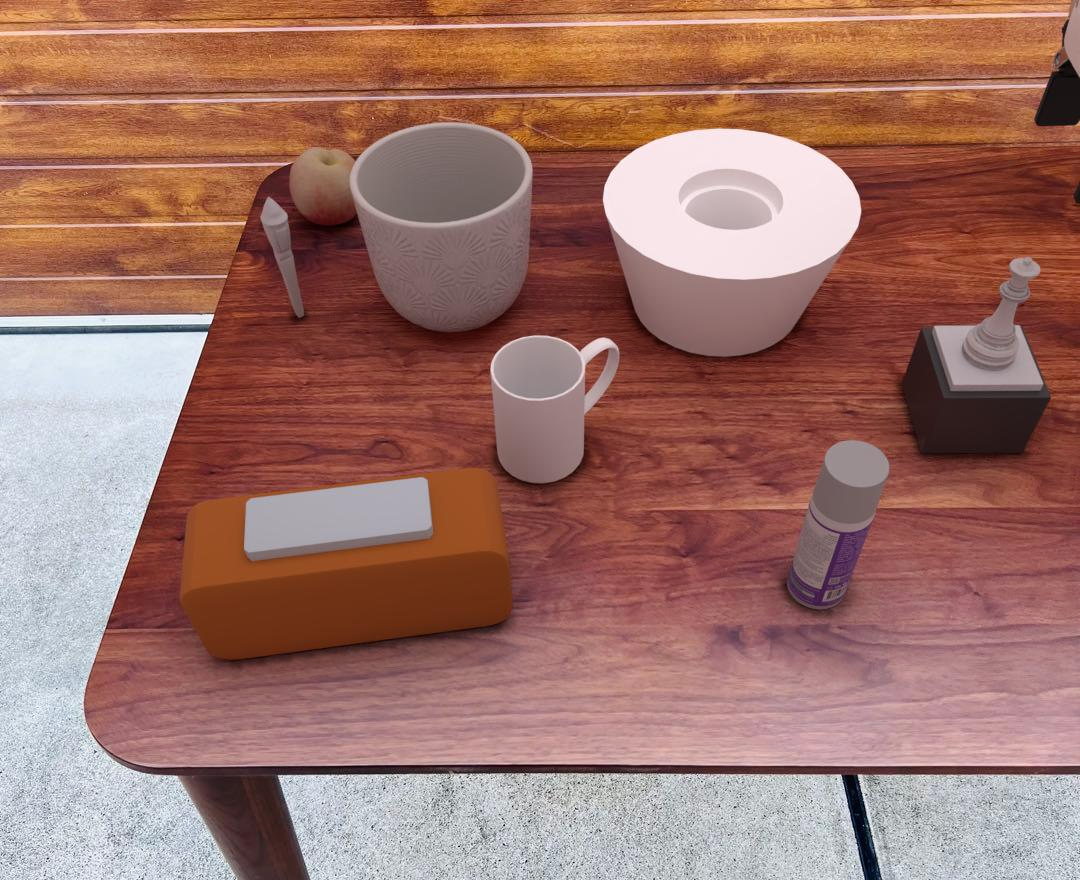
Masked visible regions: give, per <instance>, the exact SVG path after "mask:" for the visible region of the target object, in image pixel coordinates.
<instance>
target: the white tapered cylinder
mask: <svg viewBox="0 0 1080 880" xmlns="http://www.w3.org/2000/svg"><path fill="white" fill-rule="evenodd" d="M849 177H850V176H848V175H847V174H846V173H845V171H844V170H843V169H842V168H841V167H840V166H838V165H837V164H836V163H835V162H833V161H832V160H831V159H830V158H829V157H828V156H825V155H824V154H822V153H821V152H819V151H816V150H815V149H814V148H811V147H810V146H807V145H805V144H802V143H800V142H797V141H796V140H792V139H790V138H787V137H783V136H780V135H775V134H772V133H768V132H763V131H755V130H749V129H739V128H738V129H737V128H707V129H694V130H690V131H684V132H679V133H673V134H670V135H667V136H664V137H660V138H657V139H654V140H652V141H650V142H647V143H646V144H644V145H642V146H639V147H638V148H636V149H634V150H633V151H631V152H630V153H629V154H627V155H626V156H625V157H623V158H622V159H621V160H620V161H619V162H618V163H617V165H615V167H614V168H613V169H612V170H611V171H610V173H609V176H608V178H607V180H606V182H605V184H604V189H603V194H602V195H603V196H602V203H603V207H604V211H605V216H606V219H607V223H608V227H609V231H610V232H611V233H610V234H611V236H612V239H613V243H614V246H615V249H616V252H617V256H618V259H619V263H620V266H621V270H622V272H623V276H624V279H625V282H626V285H627V289H628V292H629V296H630V299H631V302H632V305H633V309H634V311H635V314H636V315H637V318H638V319H639V321H640V323H641V324H642V325H643V326H644V328H646V330H647V331H648V332H650V333H651V334H652V335H653V336H655V337H656V338H657V339H658V340H660V341H662V342H663V343H666V344H668V345H669V346H671V347H673V348H676V349H679V350H681V351H685V352H688V353H691V354H696V355H702V356H708V357H721V358H722V357H738V356H744V355H748V354H753V353H757V352H760V351H763V350H765V349H768V348H770V347H772V346H773V345H775V344H777V343H779V342H780V341H782V340H784V339H785V338H786V336H787V335H788V334H790V333H791V331H792V330H793V329H794V328H795V326H796V324H797V323H798V322H799V320H800V318H801V316H802V315H803V313H804V312H805V310H806V309H807V307H808V306H809V305H810V302H811V301H812V300H813V298H814V296H815V295H816V293H817V292H818V290H819V289H820V287H821V286H822V284H823V283H824V281H825V279H826V278H827V277H828V275H829V274H830V272H831V270H832V269H833V267H834V265H835V264H836V263H837V261H838V260H839V258H840V257H841V255H842V254H843V252H844V250H845V249H846V247H847V246H848V244H849V243H850V241H851V239H852V238H853V236H854V234H855V233H856V231H857V230H858V228H859V224H860V220H861V216H862V206H861V198H860V195H859V193H858V191H857V189H856V187H855V185H854V182H853V181H852V180H851V179H850V178H849Z"/></svg>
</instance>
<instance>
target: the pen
mask: <svg viewBox="0 0 1080 880" xmlns="http://www.w3.org/2000/svg"><path fill="white" fill-rule="evenodd" d="M288 218H289V216H288V213H287V211H285V210H284V209H283V208H282V207H281V206H280V205H279V204H278V203H277V202H276V201H275V200H274V199H273V198H271V197H270V196H267V198H266V200H265V203H264V204H263V208H262V212H261V214H260V217H259V219H260V221H261V224H262V227H263V230H264V233H265V236H266V238H267V240H268V243H269V244H270V246H271V247H272V250H273V251H272V252H273V254H274V258H275V260H276V264H277V265H278V266H277V267H278V269H279V272H280V273H281V276H282V279H283V283H284V285H285V288H286V291H287V294H288V297H289V300H290V303H291V307H292V309H293V311H294V314H295V315H296V317H297V318H298V319H301V318H303V317H304V316H305V310H304V304H303V300H302V295H301V290H300V287H299V281H298V275H297V269H296V264H295V258H294V254H293V251H292V240H291V230H290V224H289V221H288Z"/></svg>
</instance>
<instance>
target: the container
mask: <svg viewBox="0 0 1080 880" xmlns="http://www.w3.org/2000/svg"><path fill="white" fill-rule="evenodd" d="M889 474H890V462H889V460H888V457H887V456H886V455H885V453H884V452H883V451H882V450H880V448H878V447H877V446H875V445H873V444H871V443H869V442H866V441H863V440H856V439H849V440H842V441H839V442H837V443H834V444H833V445H831V446H830V447H829V448H828V449H827V451H826V453H825V455H824V458H823V462H822V464H821V467H820V470H819V473H818V476H817V479H816V481H815V484H814V488H813V491H812V493H811V497H810V499H809V503H808V506H807V510H806V514H805V516H804V520H803V524H802V526H801V529H800V533H799V536H798V537H799V538H798V541H797V544H796V547H795V551H794V553H793V554H794V555H793V558H792V561H791V564H790V568H789V571H788V576H787V580H786V586H787V590H788V592H789V594H790V595H791V597H792V598H793V599H794V600H795V601H796V602H797V603H799V604H800V605H802V606H804V607H806V608H809V609H813V610H828V609H831V608H833V607H835V606H837V605H838V604H839V603H841V602H842V600H843V598H844V597H845V594H846V592H847V589H848V586H849V584H850V581H851V579H852V576H853V574H854V571H855V568H856V565H857V563H858V560H859V558H860V555H861V552H862V550H863V547H864V544H865V542H866V539H867V537H868V534H869V532H870V529H871V526H872V524H873V521H874V519H875V515H876V512H877V509H878V506H879V503H880V500H881V497H882V495H883V492H884V488H885V485H886V482H887V479H888V476H889Z"/></svg>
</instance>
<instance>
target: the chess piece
mask: <svg viewBox="0 0 1080 880" xmlns="http://www.w3.org/2000/svg"><path fill="white" fill-rule="evenodd" d="M1008 270H1009V272H1010V276H1011V277H1010V278H1009V279H1008V280H1007V281H1004V282H1002V283H1001V284H1000V286H999V287H998V293H999V294H998V295H999V296H1000V297H1001V298H1002V299H1001V300H1000V302H999V305H998V307H997V308H996V310H995V311H994V312H993V314H992V315H991V316H988V317H986V318H984V319H983V320H982V321H981V323H978V324H976V325H974V326H975V327H973V328H971V329H970V331H969V332H968V334H967V337H966V338H965V340H964V342H963V345H962V353H963V355H964V357H965V358H966V359H967V360H968V361H969V362H970V363H972V364H973V365H975V366H978V367H980V368H983V369H988V370H999V369H1003V368H1006V367H1008V366H1010V365H1011V364H1012V362H1013V361H1014V359H1015V357H1016V354H1017V351H1018V349H1019V340H1018V337H1017V335H1016V334H1015V333H1016V327H1015V325H1016V324H1014V320H1015V315H1016V311H1017V308H1018V305H1019V304H1021V303H1025V302H1026V301H1028V299H1029V298H1030V295H1031V289H1030V287H1029V284H1028V283H1029V282H1030V281H1031V280H1033V279H1035V278H1037V277H1038V276H1039V275H1040V273H1041V266H1040V265H1039V264H1038V263H1037V262H1036V261H1035V260H1033V258H1032V257H1031V256H1026V257H1017V258H1014V259H1012V260H1011V261H1010V262H1009V265H1008Z"/></svg>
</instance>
